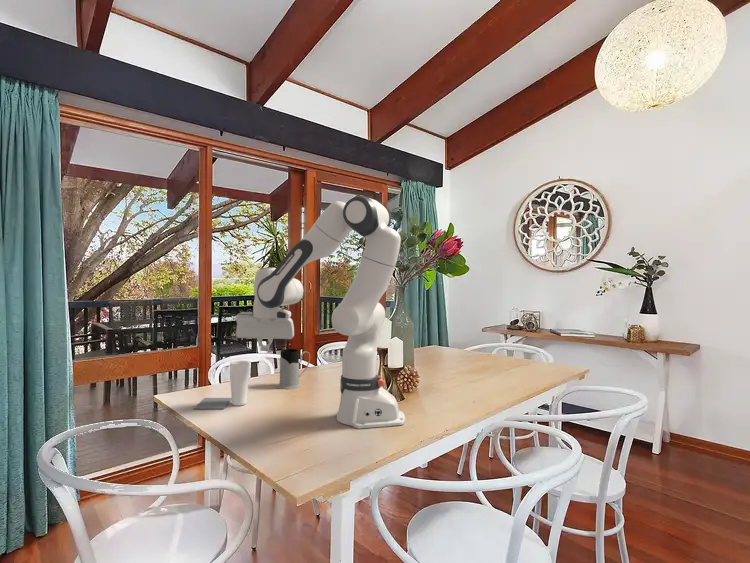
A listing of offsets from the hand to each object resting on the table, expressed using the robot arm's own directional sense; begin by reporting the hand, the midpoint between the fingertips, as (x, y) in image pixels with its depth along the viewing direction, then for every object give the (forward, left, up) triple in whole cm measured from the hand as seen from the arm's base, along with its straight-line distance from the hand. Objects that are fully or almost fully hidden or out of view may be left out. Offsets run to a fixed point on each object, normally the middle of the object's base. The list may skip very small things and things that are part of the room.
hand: (264, 350), depth 152 cm
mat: (+18, 0, -19) cm, 26 cm away
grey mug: (-8, -25, -19) cm, 33 cm away
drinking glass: (+9, 0, -19) cm, 21 cm away
